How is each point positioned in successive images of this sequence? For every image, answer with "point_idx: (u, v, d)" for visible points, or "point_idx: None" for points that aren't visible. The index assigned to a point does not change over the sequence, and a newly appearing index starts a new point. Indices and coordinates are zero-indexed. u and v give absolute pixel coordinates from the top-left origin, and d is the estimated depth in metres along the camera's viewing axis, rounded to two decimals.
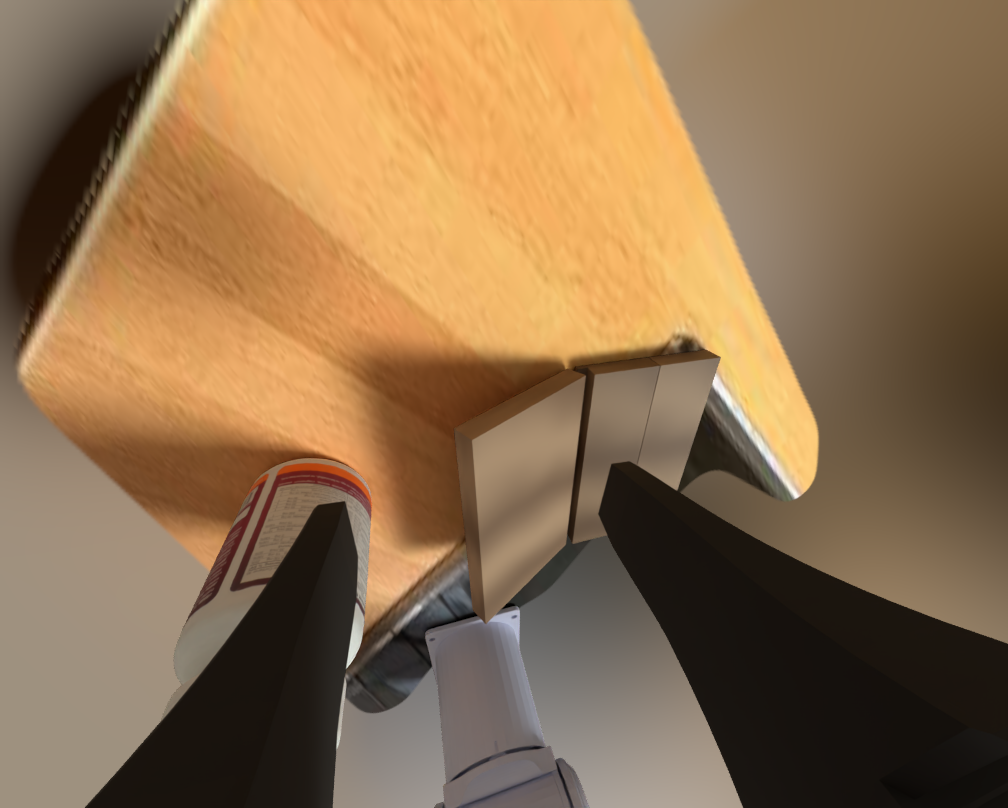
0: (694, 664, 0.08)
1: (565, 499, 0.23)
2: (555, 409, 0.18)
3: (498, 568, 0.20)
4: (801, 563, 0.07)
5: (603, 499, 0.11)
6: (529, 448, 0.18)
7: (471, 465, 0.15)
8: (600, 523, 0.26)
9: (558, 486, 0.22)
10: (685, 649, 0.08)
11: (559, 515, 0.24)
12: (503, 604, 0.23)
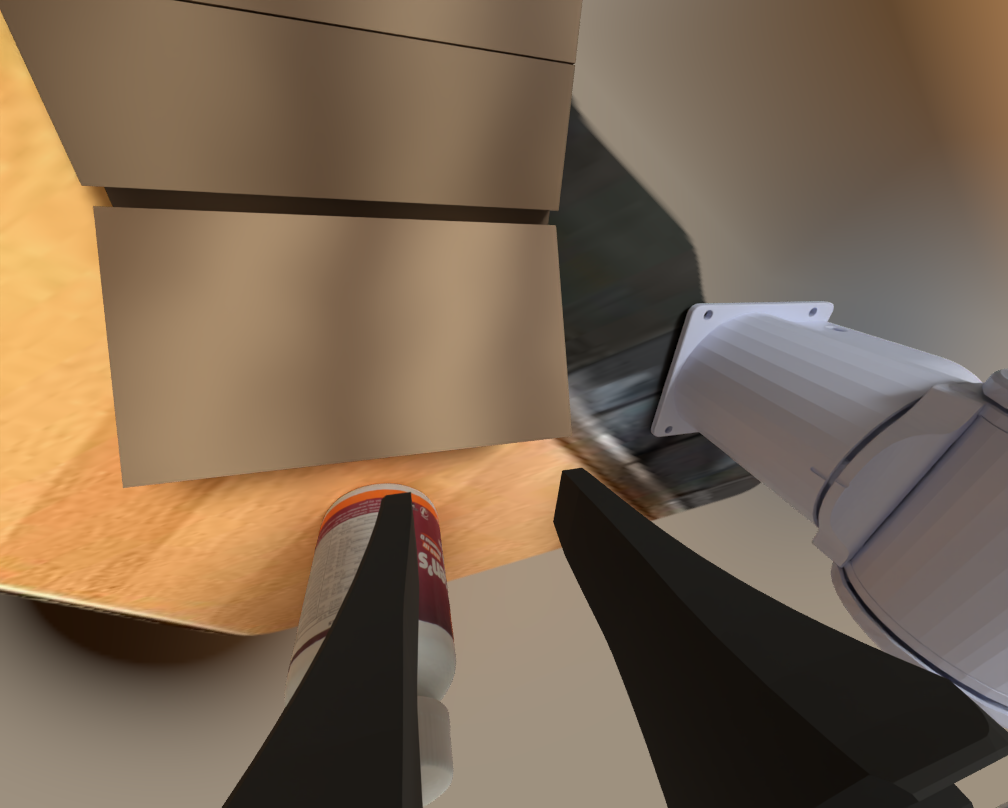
0: (634, 683, 0.07)
1: (416, 239, 0.12)
2: (145, 296, 0.10)
3: (458, 414, 0.13)
4: (736, 580, 0.06)
5: (557, 507, 0.10)
6: (210, 360, 0.11)
7: None
8: (522, 136, 0.12)
9: (362, 268, 0.12)
10: (627, 667, 0.08)
11: (452, 254, 0.13)
12: (564, 397, 0.14)
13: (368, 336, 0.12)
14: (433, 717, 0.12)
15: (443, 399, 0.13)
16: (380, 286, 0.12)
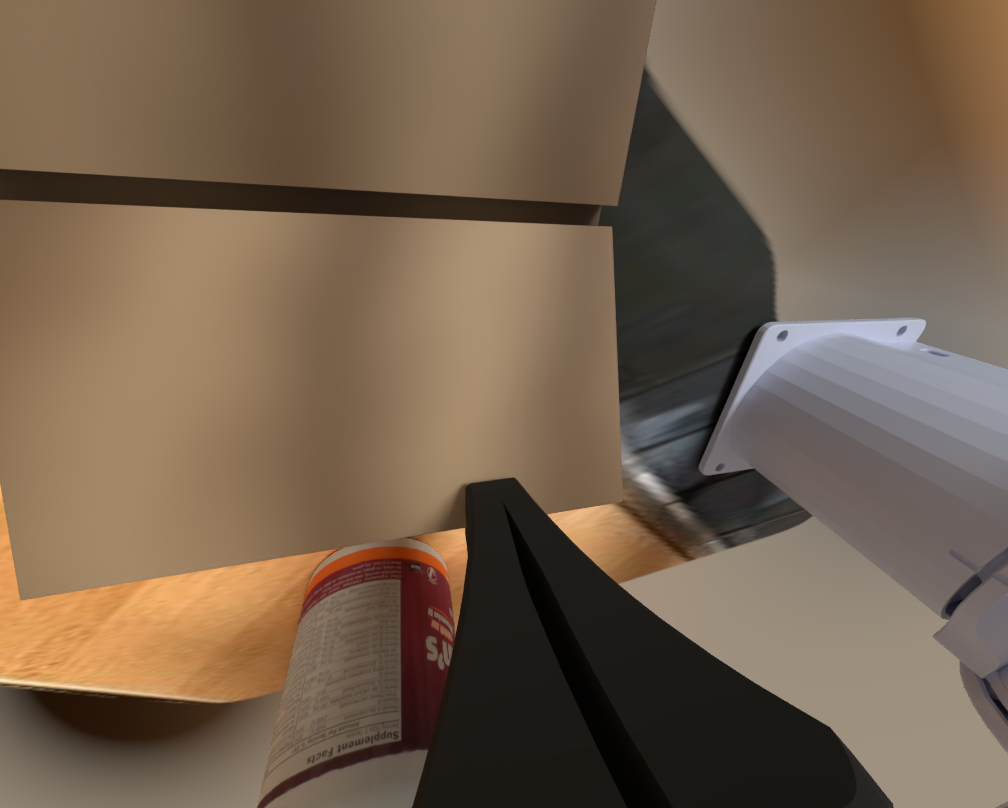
0: None
1: (428, 247, 0.09)
2: (40, 332, 0.07)
3: (481, 480, 0.10)
4: (638, 604, 0.06)
5: None
6: (139, 419, 0.08)
7: None
8: (577, 102, 0.08)
9: (353, 287, 0.09)
10: None
11: (476, 266, 0.09)
12: (615, 452, 0.11)
13: (362, 381, 0.09)
14: None
15: (461, 461, 0.10)
16: (378, 312, 0.09)
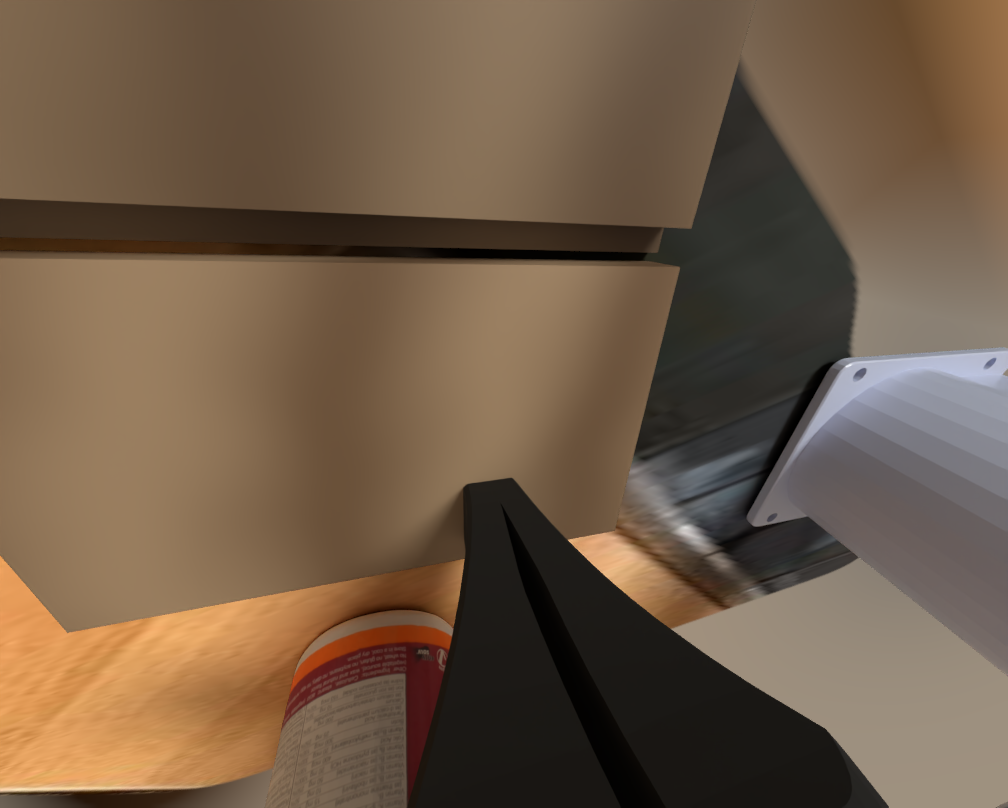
0: None
1: (445, 302, 0.07)
2: None
3: None
4: (635, 605, 0.06)
5: None
6: (129, 498, 0.07)
7: None
8: (652, 90, 0.06)
9: (352, 354, 0.07)
10: None
11: (503, 323, 0.07)
12: (617, 495, 0.11)
13: (367, 450, 0.08)
14: None
15: None
16: (383, 380, 0.07)
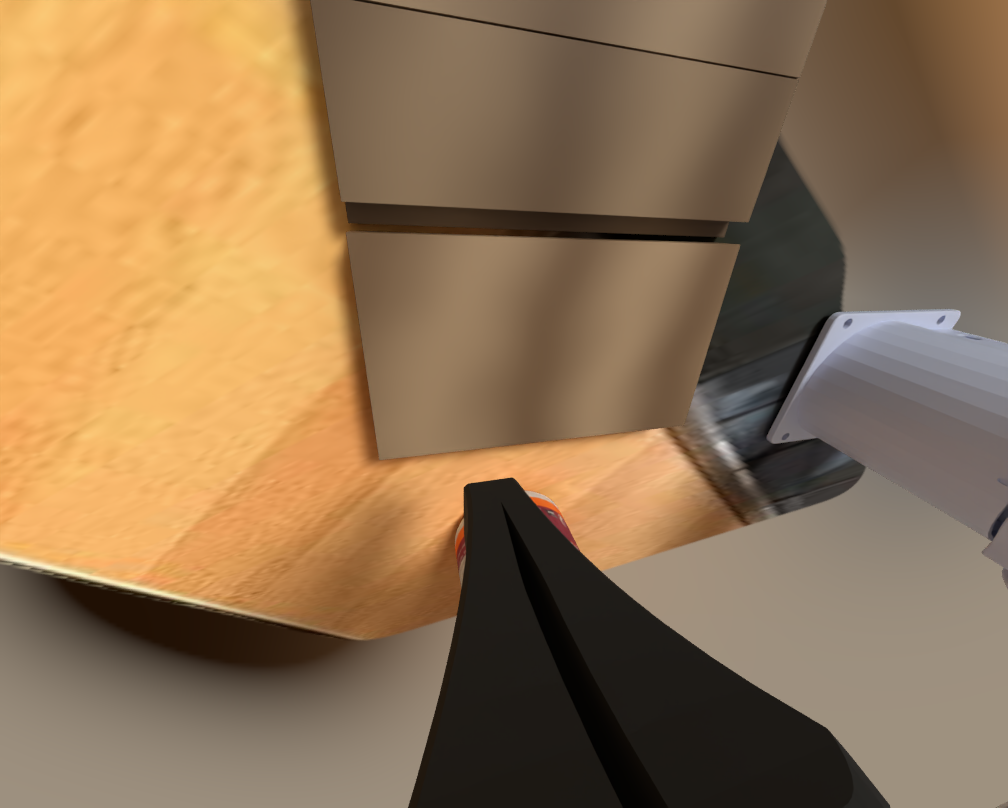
0: None
1: (616, 262, 0.13)
2: (391, 320, 0.12)
3: (609, 411, 0.16)
4: (636, 605, 0.06)
5: None
6: (438, 372, 0.13)
7: None
8: (735, 150, 0.12)
9: (564, 291, 0.13)
10: None
11: (642, 275, 0.13)
12: (689, 397, 0.17)
13: (558, 351, 0.14)
14: None
15: (601, 400, 0.15)
16: (575, 307, 0.13)
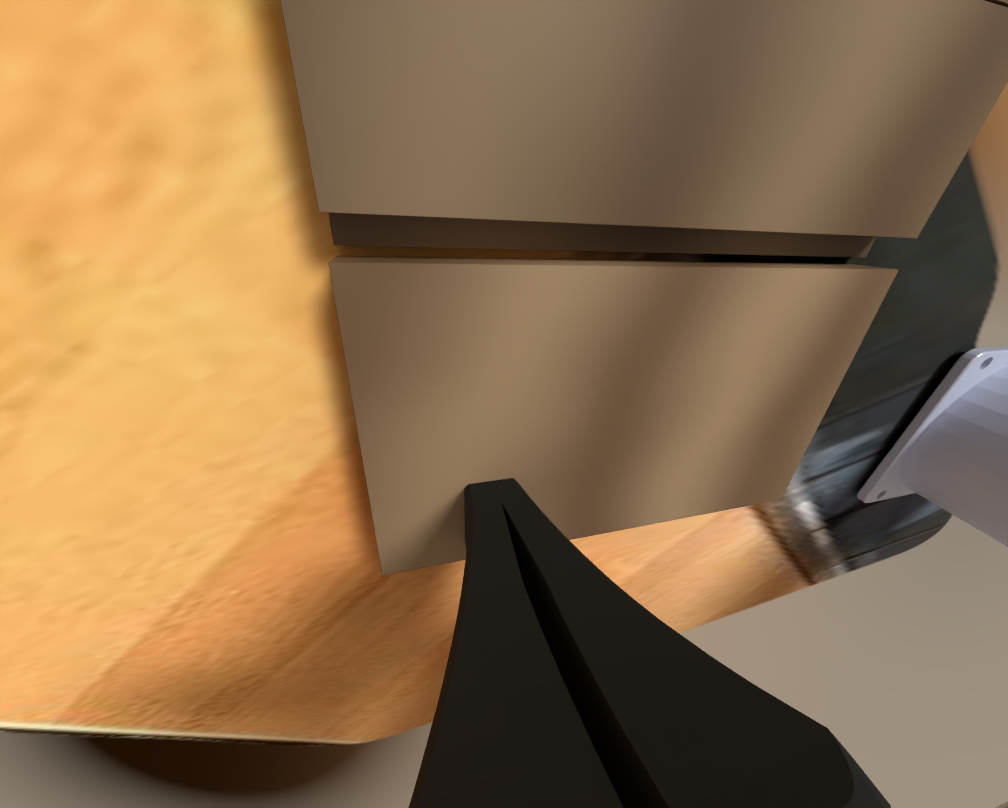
0: None
1: (732, 298, 0.09)
2: (402, 393, 0.08)
3: (693, 490, 0.12)
4: (637, 605, 0.06)
5: None
6: (470, 459, 0.09)
7: None
8: (928, 131, 0.08)
9: (657, 340, 0.09)
10: None
11: (764, 316, 0.09)
12: (793, 467, 0.12)
13: (637, 422, 0.10)
14: None
15: (685, 478, 0.11)
16: (669, 363, 0.09)
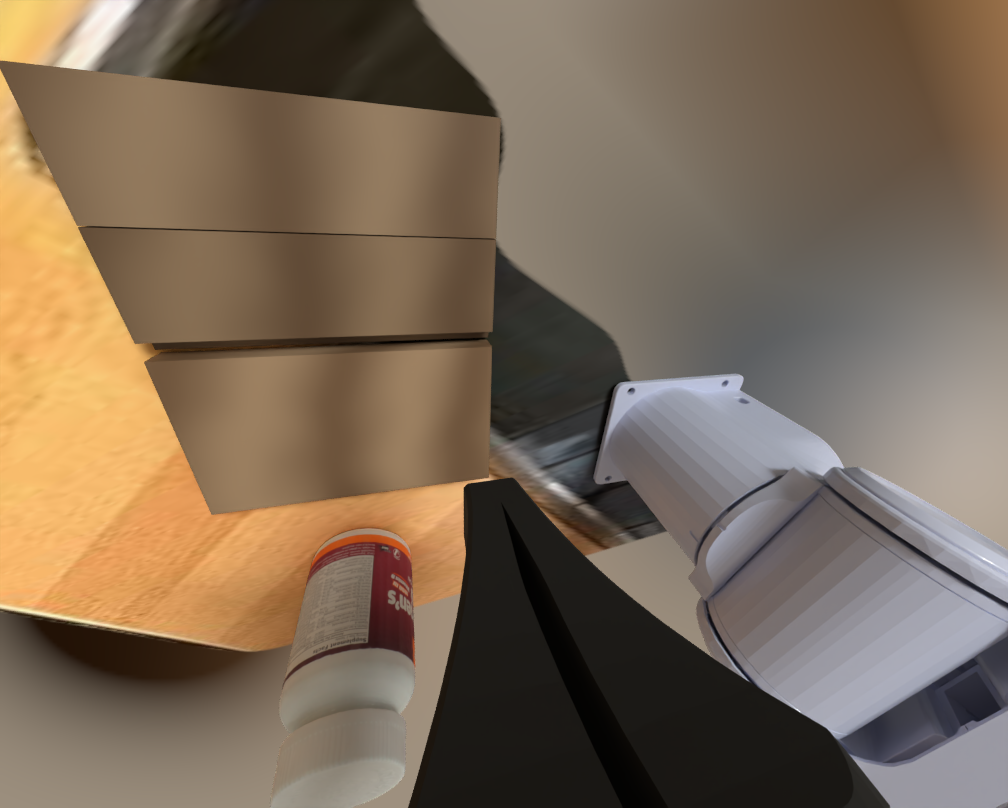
0: None
1: (381, 366, 0.17)
2: (196, 416, 0.15)
3: (413, 470, 0.20)
4: (636, 605, 0.06)
5: None
6: (247, 449, 0.17)
7: None
8: (459, 287, 0.16)
9: (342, 388, 0.17)
10: None
11: (409, 373, 0.17)
12: (485, 456, 0.20)
13: (350, 430, 0.18)
14: (390, 725, 0.15)
15: (402, 462, 0.19)
16: (356, 399, 0.17)
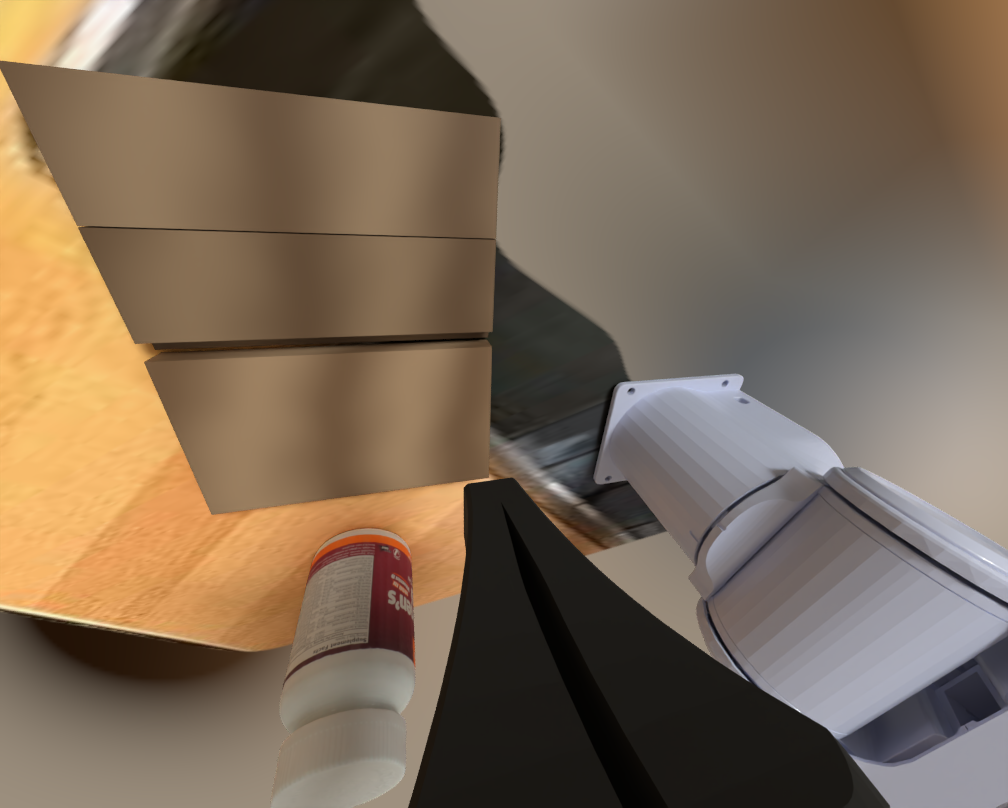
0: None
1: (381, 366, 0.17)
2: (196, 416, 0.15)
3: (413, 470, 0.20)
4: (636, 605, 0.06)
5: None
6: (247, 449, 0.17)
7: None
8: (459, 287, 0.16)
9: (342, 388, 0.17)
10: None
11: (409, 373, 0.17)
12: (485, 456, 0.20)
13: (350, 430, 0.18)
14: (390, 725, 0.15)
15: (402, 462, 0.19)
16: (356, 399, 0.17)
